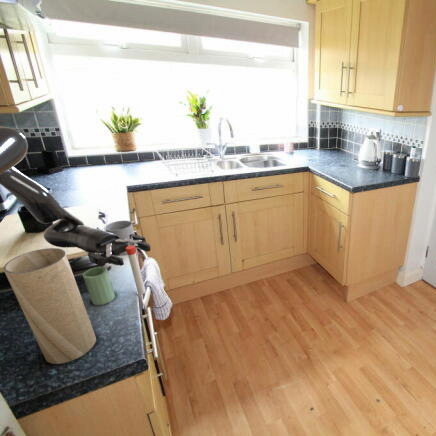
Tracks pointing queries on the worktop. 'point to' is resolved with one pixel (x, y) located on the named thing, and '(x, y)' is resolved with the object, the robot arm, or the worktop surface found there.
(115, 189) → the worktop surface
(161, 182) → the worktop surface
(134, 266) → the marker
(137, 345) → the worktop surface
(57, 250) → the tube
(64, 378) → the worktop surface
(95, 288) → the green pencil holder
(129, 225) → the cup
